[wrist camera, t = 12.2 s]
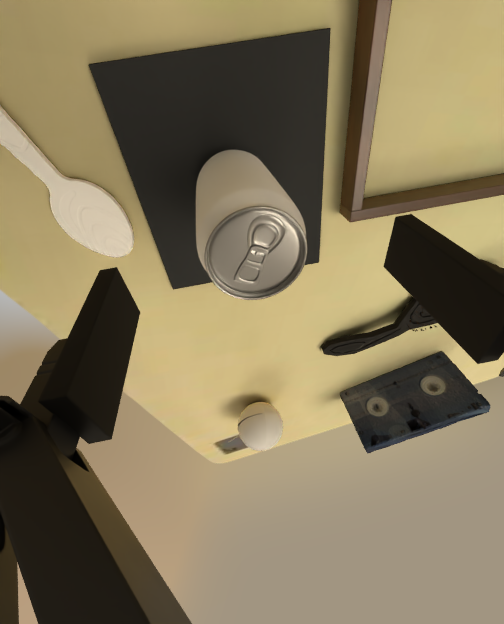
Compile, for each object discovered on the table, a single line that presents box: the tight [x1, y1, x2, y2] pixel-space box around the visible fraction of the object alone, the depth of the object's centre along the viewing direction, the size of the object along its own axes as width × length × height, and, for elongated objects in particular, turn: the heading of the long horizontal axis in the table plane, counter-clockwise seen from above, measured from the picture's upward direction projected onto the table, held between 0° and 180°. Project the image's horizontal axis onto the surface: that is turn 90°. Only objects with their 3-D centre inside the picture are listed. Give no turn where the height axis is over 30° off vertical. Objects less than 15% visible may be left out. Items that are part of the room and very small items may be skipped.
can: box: [196, 150, 307, 300], centre depth 19 cm, size 6×6×12 cm
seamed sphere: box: [229, 402, 283, 451], centre depth 45 cm, size 10×7×7 cm
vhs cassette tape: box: [340, 352, 490, 453], centre depth 44 cm, size 18×3×10 cm, turn 116°
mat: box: [89, 28, 330, 289], centre depth 24 cm, size 18×16×1 cm
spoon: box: [0, 105, 134, 258], centre depth 21 cm, size 5×18×1 cm, turn 29°
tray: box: [340, 0, 504, 222], centre depth 21 cm, size 18×22×2 cm
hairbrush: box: [321, 268, 504, 356], centre depth 37 cm, size 8×4×25 cm
